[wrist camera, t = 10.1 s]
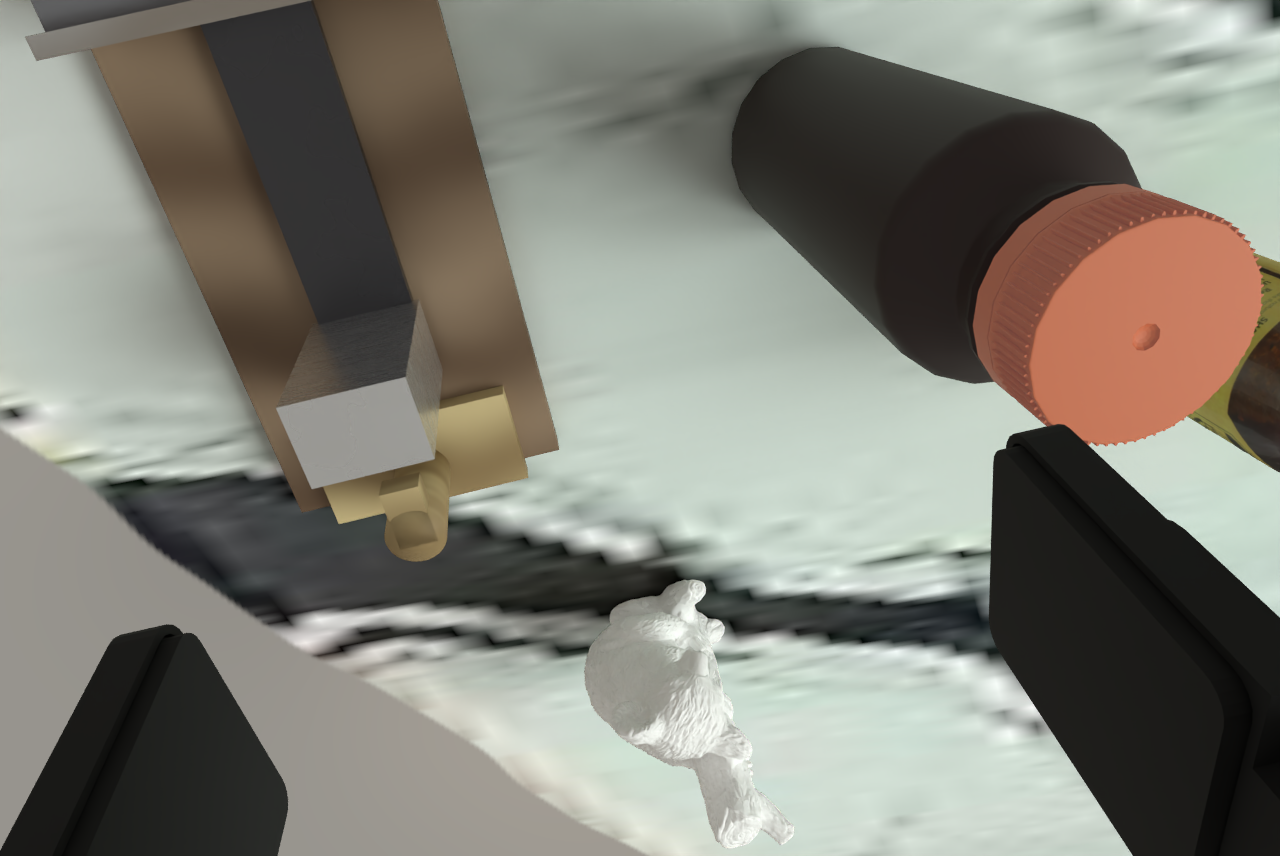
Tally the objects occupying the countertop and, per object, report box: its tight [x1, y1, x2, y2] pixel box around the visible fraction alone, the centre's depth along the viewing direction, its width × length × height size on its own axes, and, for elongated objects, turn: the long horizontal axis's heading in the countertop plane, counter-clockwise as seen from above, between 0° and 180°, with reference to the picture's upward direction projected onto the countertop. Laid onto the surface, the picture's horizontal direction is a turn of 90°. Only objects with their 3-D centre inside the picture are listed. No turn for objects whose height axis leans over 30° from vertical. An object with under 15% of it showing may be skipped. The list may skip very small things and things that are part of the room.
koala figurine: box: [584, 580, 794, 849], centre depth 40 cm, size 8×7×12 cm
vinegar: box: [732, 47, 1264, 446], centre depth 26 cm, size 7×7×20 cm
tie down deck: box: [25, 0, 559, 561], centre depth 30 cm, size 28×11×7 cm, turn 11°
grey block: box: [200, 0, 443, 489], centre depth 29 cm, size 14×4×7 cm, turn 11°
